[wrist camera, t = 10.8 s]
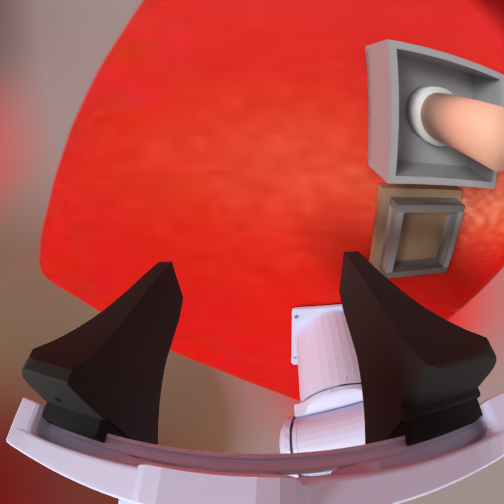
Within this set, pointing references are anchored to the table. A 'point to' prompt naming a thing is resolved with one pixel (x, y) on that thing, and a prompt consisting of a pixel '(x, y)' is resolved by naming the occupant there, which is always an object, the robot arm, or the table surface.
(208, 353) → the table surface
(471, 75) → the bin
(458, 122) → the peach cylinder
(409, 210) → the square framed plate
